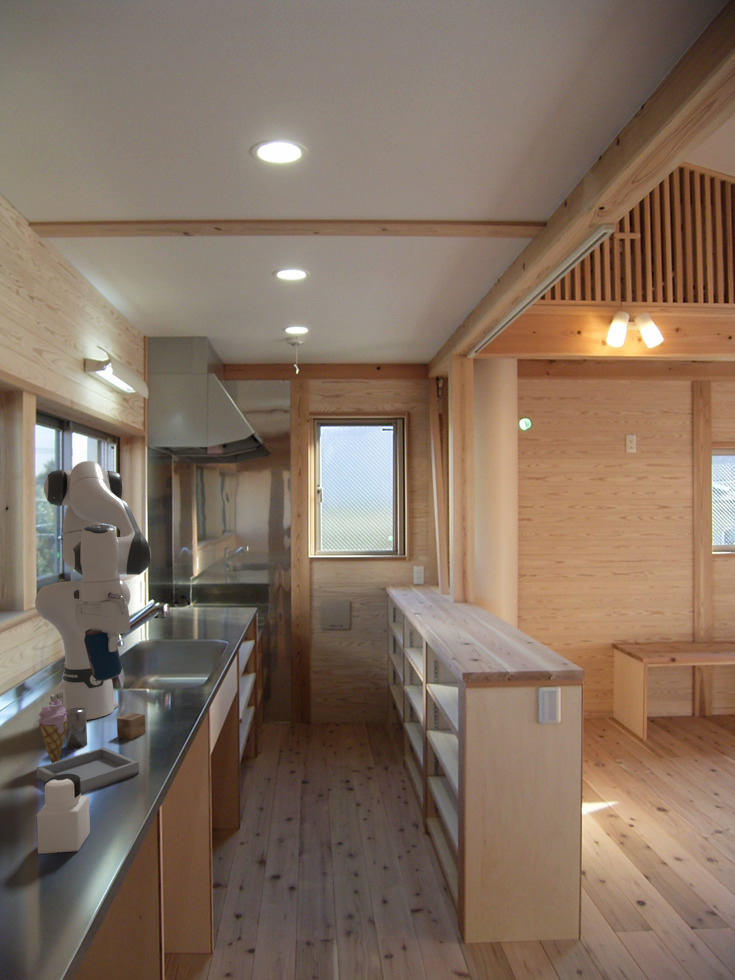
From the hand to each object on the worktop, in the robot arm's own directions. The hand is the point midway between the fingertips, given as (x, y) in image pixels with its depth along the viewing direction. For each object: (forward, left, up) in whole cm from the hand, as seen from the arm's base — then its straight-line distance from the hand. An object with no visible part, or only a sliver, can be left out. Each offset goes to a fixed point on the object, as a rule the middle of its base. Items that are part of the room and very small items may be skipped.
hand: (103, 649), depth 173 cm
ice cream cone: (-7, -9, -26) cm, 29 cm away
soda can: (0, +1, -7) cm, 7 cm away
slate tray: (+7, -8, -26) cm, 28 cm away
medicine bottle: (+34, -26, -26) cm, 51 cm away
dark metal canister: (-15, 0, -26) cm, 30 cm away
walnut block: (-11, +13, -26) cm, 31 cm away
